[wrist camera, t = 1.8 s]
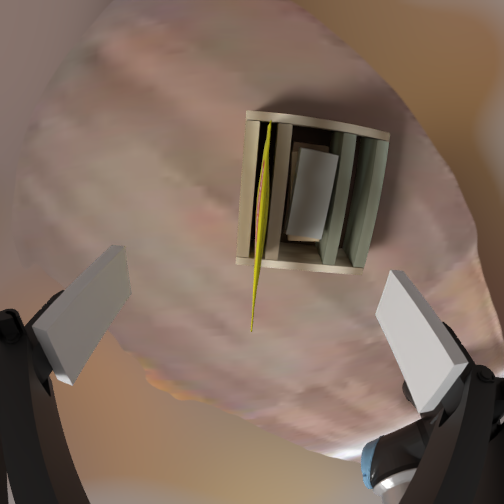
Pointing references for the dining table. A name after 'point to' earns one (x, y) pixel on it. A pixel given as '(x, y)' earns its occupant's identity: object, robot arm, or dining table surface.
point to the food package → (261, 214)
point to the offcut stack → (308, 191)
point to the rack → (362, 203)
